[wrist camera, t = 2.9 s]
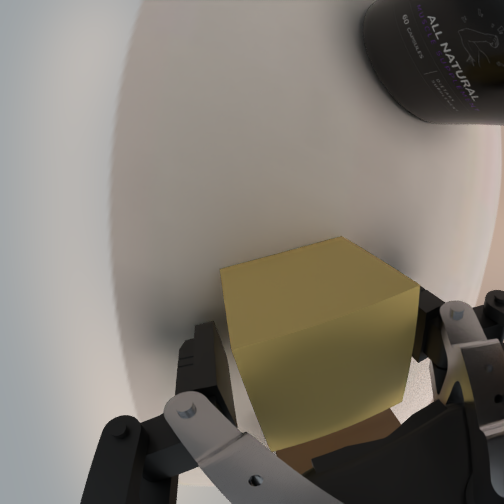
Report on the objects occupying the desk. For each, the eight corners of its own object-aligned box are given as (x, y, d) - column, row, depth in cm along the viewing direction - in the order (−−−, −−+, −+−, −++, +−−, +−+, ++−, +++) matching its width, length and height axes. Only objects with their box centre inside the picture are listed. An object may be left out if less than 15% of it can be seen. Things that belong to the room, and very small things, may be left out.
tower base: (263, 407, 13) (289, 501, 8) (365, 373, 14) (417, 448, 8) (279, 453, 15) (300, 523, 10) (360, 426, 16) (394, 487, 10)
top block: (219, 268, 11) (231, 349, 6) (340, 235, 11) (420, 285, 6) (249, 364, 12) (271, 452, 8) (348, 332, 13) (402, 401, 8)
